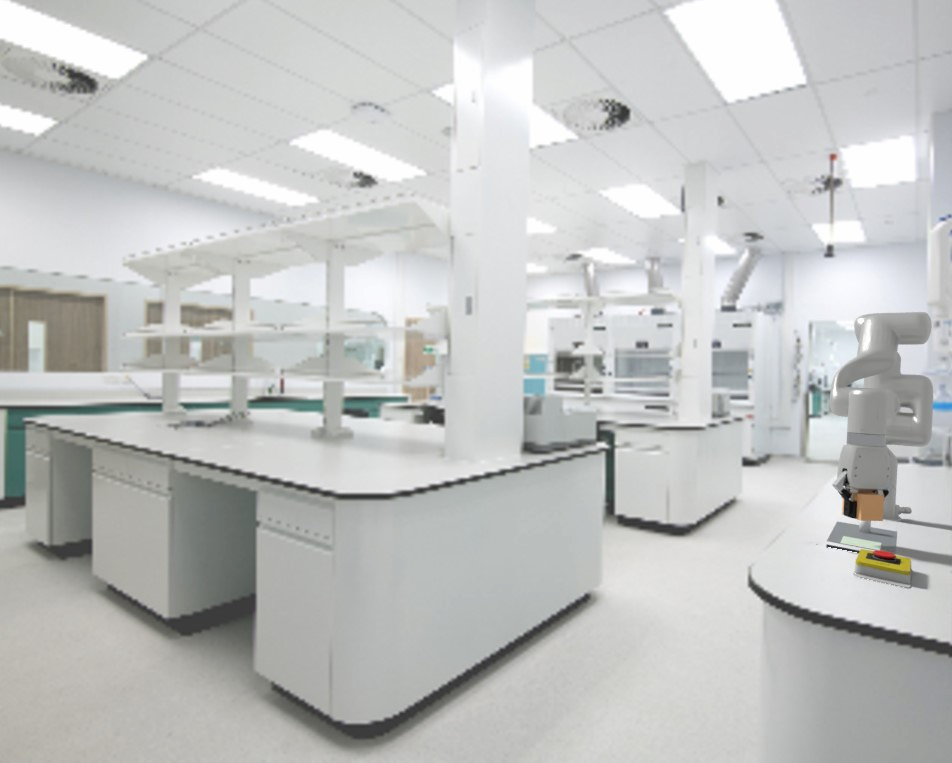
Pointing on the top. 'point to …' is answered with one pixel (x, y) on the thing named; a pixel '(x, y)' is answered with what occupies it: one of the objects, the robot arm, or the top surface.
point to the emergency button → (884, 568)
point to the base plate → (863, 537)
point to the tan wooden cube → (868, 506)
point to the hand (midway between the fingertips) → (861, 516)
